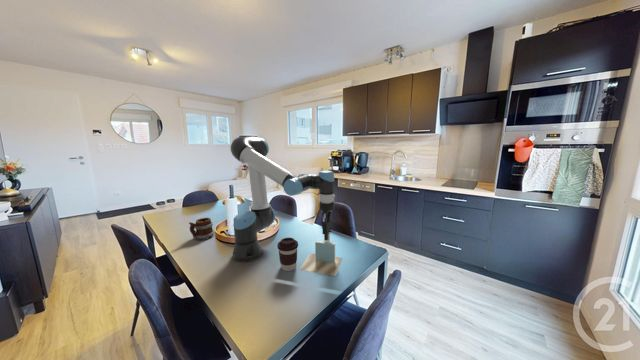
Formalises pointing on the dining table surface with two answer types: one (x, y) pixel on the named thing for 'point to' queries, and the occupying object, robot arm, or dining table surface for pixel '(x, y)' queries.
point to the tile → (325, 251)
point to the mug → (202, 228)
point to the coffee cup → (288, 253)
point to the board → (321, 265)
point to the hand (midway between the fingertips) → (326, 244)
